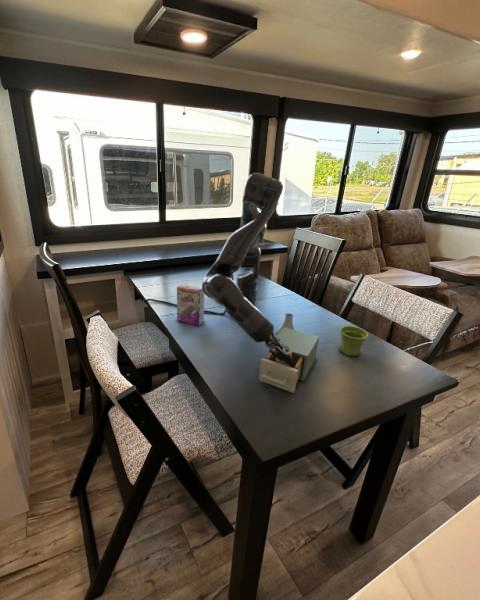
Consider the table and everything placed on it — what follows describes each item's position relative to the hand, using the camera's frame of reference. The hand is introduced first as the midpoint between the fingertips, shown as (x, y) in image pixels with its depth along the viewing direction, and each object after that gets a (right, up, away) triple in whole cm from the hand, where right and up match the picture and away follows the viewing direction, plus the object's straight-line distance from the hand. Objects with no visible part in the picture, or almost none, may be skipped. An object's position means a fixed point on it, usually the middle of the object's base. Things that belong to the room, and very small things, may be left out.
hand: (289, 358), depth 97 cm
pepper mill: (-2, -5, +2) cm, 5 cm away
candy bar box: (-34, +8, +41) cm, 54 cm away
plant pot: (+28, -2, +20) cm, 35 cm away
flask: (+7, +3, +30) cm, 31 cm away
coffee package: (-18, +18, +65) cm, 70 cm away
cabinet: (+4, -4, +12) cm, 14 cm away
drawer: (-2, -7, +3) cm, 8 cm away
